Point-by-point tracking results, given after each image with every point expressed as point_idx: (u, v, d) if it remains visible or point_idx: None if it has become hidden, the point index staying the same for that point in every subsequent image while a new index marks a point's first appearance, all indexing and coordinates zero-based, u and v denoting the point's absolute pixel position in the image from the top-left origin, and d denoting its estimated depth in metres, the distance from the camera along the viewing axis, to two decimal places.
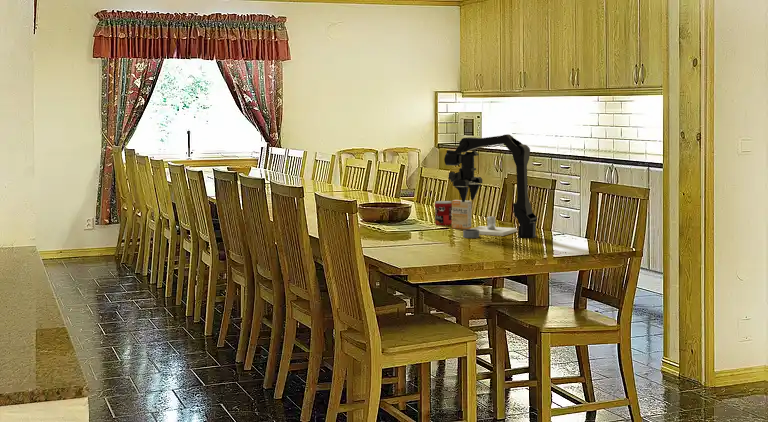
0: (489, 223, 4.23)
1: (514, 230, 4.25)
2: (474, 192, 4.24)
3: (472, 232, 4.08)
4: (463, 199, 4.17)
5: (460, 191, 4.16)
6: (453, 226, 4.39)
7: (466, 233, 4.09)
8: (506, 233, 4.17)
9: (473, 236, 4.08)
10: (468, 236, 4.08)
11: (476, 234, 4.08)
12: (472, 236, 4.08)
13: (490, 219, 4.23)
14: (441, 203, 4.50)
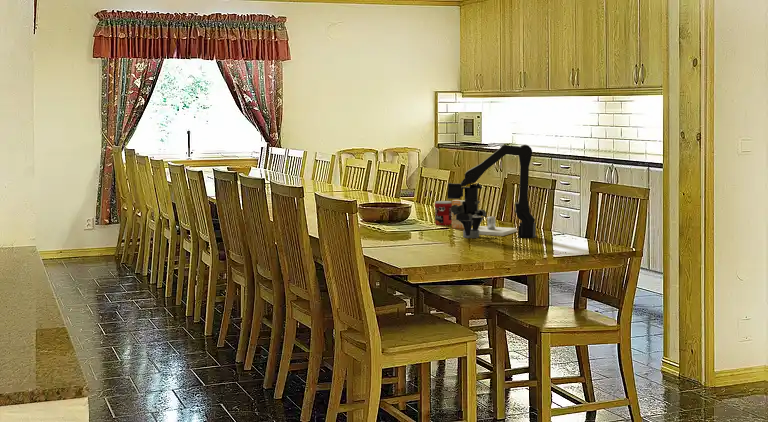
0: (489, 223, 4.23)
1: (514, 230, 4.25)
2: (477, 226, 4.13)
3: (472, 232, 4.08)
4: (467, 233, 4.07)
5: (464, 225, 4.07)
6: (453, 226, 4.39)
7: None
8: (506, 233, 4.17)
9: (473, 236, 4.08)
10: (468, 236, 4.08)
11: (476, 234, 4.08)
12: (472, 236, 4.08)
13: (490, 219, 4.23)
14: (441, 203, 4.50)
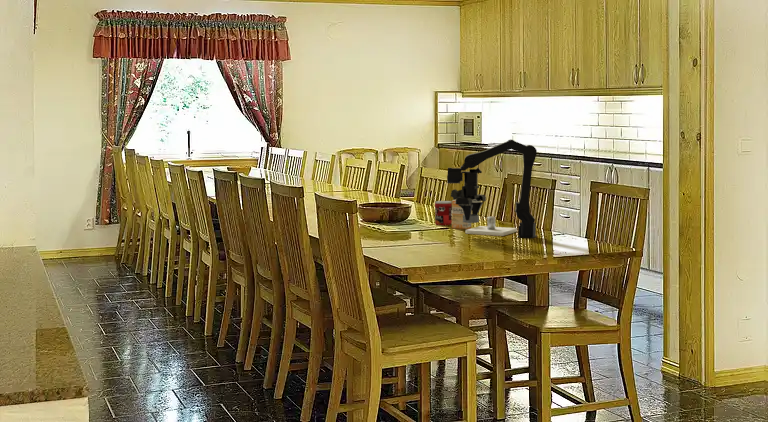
0: (489, 223, 4.23)
1: (514, 230, 4.25)
2: (476, 210, 4.13)
3: (472, 217, 4.07)
4: (467, 217, 4.07)
5: (464, 209, 4.06)
6: (453, 226, 4.39)
7: None
8: (506, 233, 4.17)
9: (473, 221, 4.07)
10: (468, 221, 4.07)
11: (475, 219, 4.08)
12: (472, 221, 4.07)
13: (490, 219, 4.23)
14: (441, 203, 4.50)
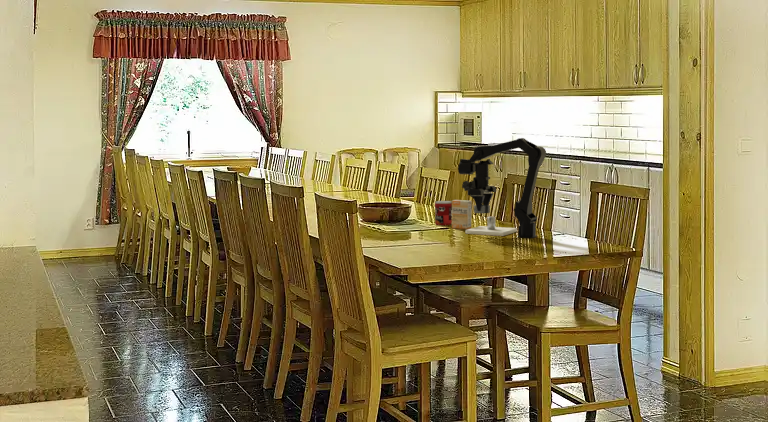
0: (489, 223, 4.23)
1: (514, 230, 4.25)
2: (487, 201, 4.20)
3: (483, 207, 4.14)
4: (479, 208, 4.13)
5: (476, 200, 4.13)
6: (453, 226, 4.39)
7: None
8: (506, 233, 4.17)
9: (484, 211, 4.14)
10: (479, 211, 4.14)
11: (487, 210, 4.14)
12: (483, 211, 4.14)
13: (490, 219, 4.23)
14: (441, 203, 4.50)
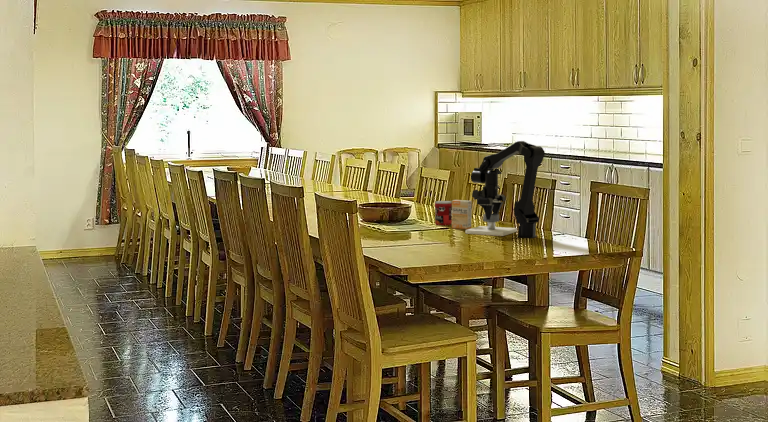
0: (489, 223, 4.23)
1: (514, 230, 4.25)
2: (496, 210, 4.26)
3: (492, 216, 4.21)
4: (488, 217, 4.20)
5: (485, 209, 4.20)
6: (453, 226, 4.39)
7: None
8: (506, 233, 4.17)
9: (493, 220, 4.21)
10: (488, 220, 4.21)
11: (496, 218, 4.21)
12: (492, 220, 4.21)
13: None
14: (441, 203, 4.50)
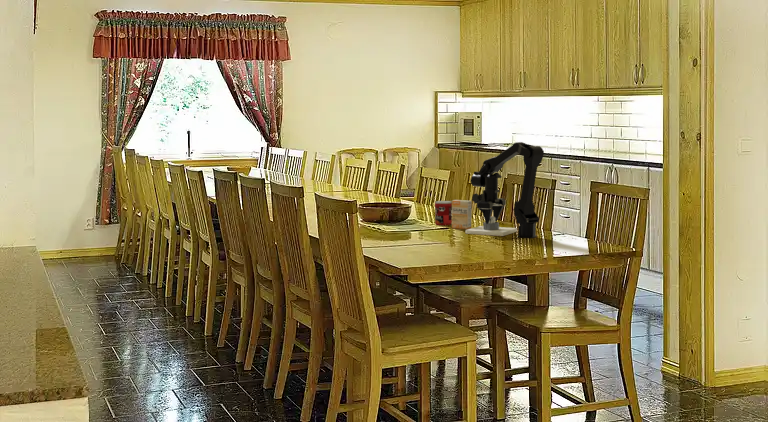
0: None
1: (514, 230, 4.25)
2: (497, 213, 4.28)
3: (492, 224, 4.21)
4: (487, 221, 4.20)
5: (484, 213, 4.19)
6: (453, 226, 4.39)
7: (486, 225, 4.22)
8: (506, 233, 4.17)
9: (493, 228, 4.21)
10: (488, 228, 4.22)
11: (496, 226, 4.22)
12: (492, 228, 4.21)
13: (490, 219, 4.23)
14: (441, 203, 4.50)
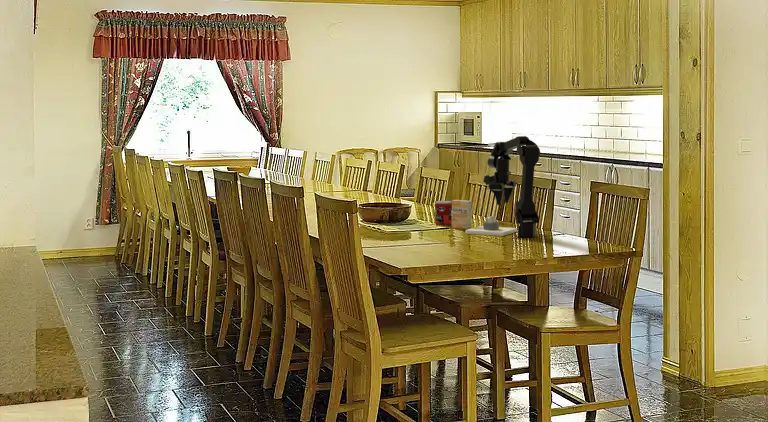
0: None
1: (514, 230, 4.25)
2: (508, 195, 4.33)
3: (492, 224, 4.21)
4: (498, 202, 4.25)
5: (496, 194, 4.25)
6: (453, 226, 4.39)
7: (486, 225, 4.22)
8: (506, 233, 4.17)
9: (493, 228, 4.21)
10: (488, 228, 4.22)
11: (496, 226, 4.22)
12: (492, 228, 4.21)
13: (490, 219, 4.23)
14: (441, 203, 4.50)
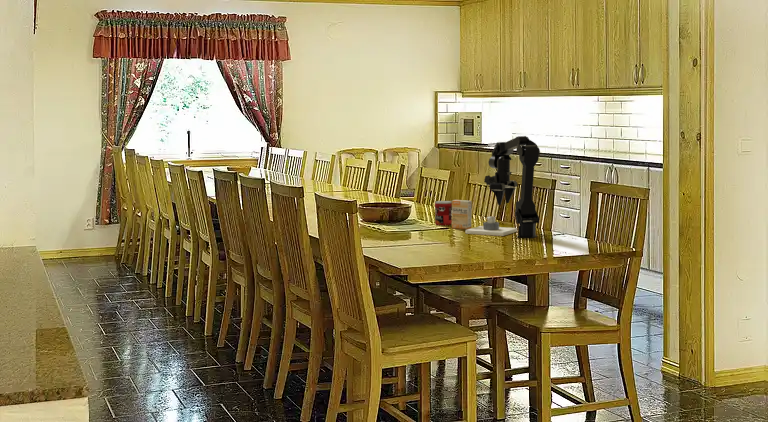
0: None
1: (514, 230, 4.25)
2: (509, 195, 4.33)
3: (492, 224, 4.21)
4: (499, 202, 4.26)
5: (496, 194, 4.25)
6: (453, 226, 4.39)
7: (486, 225, 4.22)
8: (506, 233, 4.17)
9: (493, 228, 4.21)
10: (488, 228, 4.22)
11: (496, 226, 4.22)
12: (492, 228, 4.21)
13: (490, 219, 4.23)
14: (441, 203, 4.50)
